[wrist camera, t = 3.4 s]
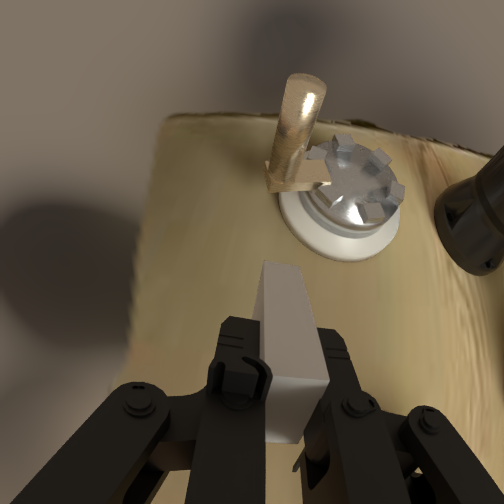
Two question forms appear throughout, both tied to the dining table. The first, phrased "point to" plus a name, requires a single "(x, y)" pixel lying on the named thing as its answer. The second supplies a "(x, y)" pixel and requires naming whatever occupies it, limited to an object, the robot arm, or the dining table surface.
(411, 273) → the dining table surface
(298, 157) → the grey and clear pieces
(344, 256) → the nut base plate
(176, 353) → the dining table surface
